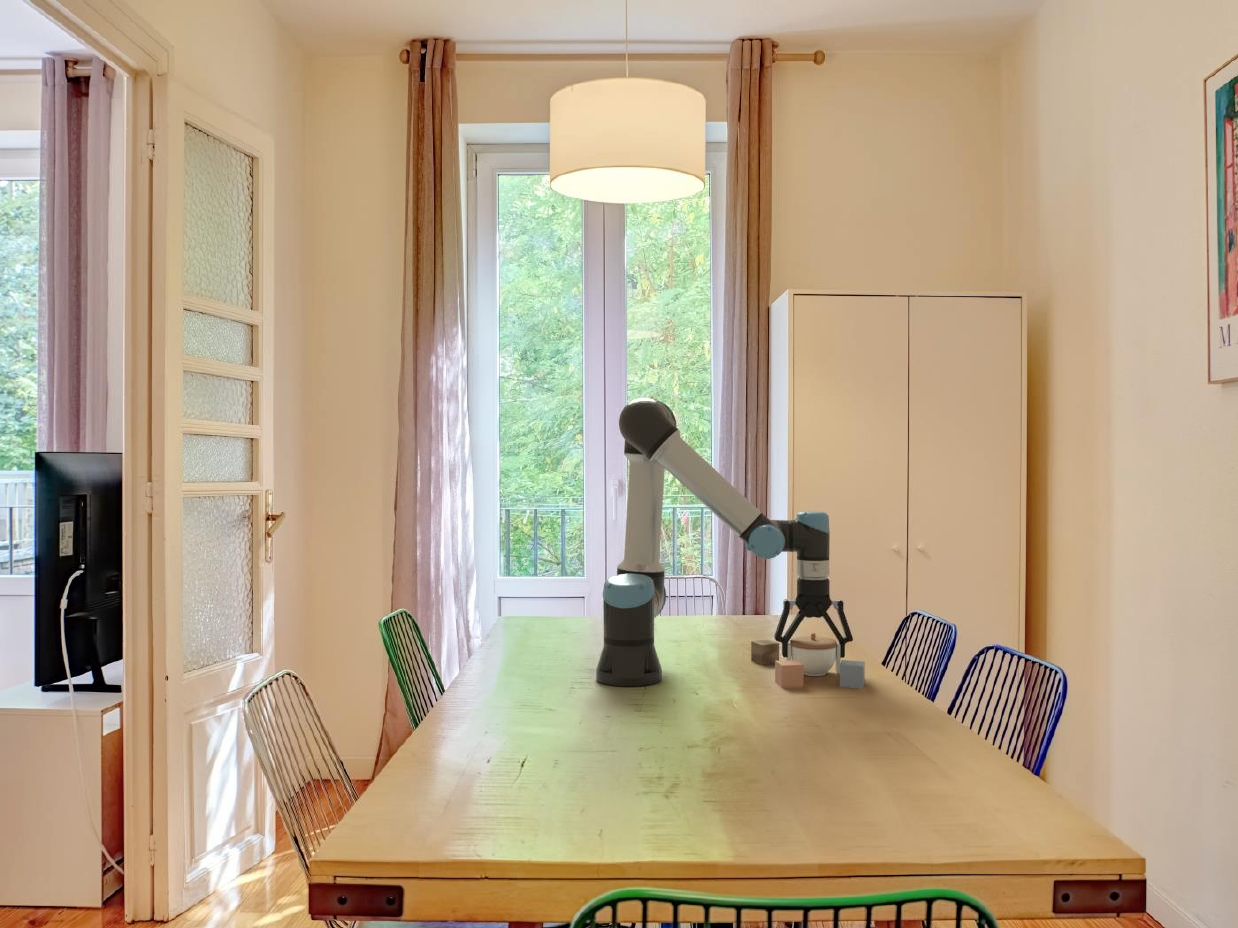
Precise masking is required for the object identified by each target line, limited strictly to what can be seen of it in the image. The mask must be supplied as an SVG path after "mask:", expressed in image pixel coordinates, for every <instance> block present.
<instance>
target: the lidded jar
mask: <svg viewBox="0 0 1238 928" xmlns="http://www.w3.org/2000/svg"><path fill="white" fill-rule="evenodd" d="M789 642H790V644H791V660H797V661H799V662H800V663H802V664H803V676H809V677H822V676H823V677H824V676H826V675H827V673H828V672H829V671H830V670H831V669H832V668H833V666H834V665H835V657H836V646H837V643H838V642H837V640H836V639H833V638H830V637H825V636H817V635H816V633H814V632H812V633H810V635H804V636H803V635H802V636H796V637H791V639H790V640H789Z"/></svg>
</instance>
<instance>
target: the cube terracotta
mask: <svg viewBox="0 0 1238 928" xmlns="http://www.w3.org/2000/svg"><path fill="white" fill-rule="evenodd" d="M774 683H775V684H776V685H778V686H779V687H780V688H786V689H787V688H804V675H803V664H802V663H800V662H799V661H797V660H792V659H791V660H787V659H786V660H784V659H783V660H779V661H775V664H774Z"/></svg>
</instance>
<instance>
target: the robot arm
mask: <svg viewBox="0 0 1238 928" xmlns="http://www.w3.org/2000/svg"><path fill="white" fill-rule="evenodd" d="M618 429H619V431H620V433H621V437H623V439H624V448H623V450H624V451H623V455H624V456H625V457H626V458H627V459H628V461H629V469H628V470H629V472H628V485H627V487H628V488H627V500H626V501H627V503H626V504H627V505H626V519H625V520H626V521H625V523H626V524H625V535H624V536H625V538H624V552H623V553H624V556H623V560H622V561H621V562H619V564H617V566H616V567H617V568H616V569H617V570H616V575H612V576H610V577H608V578H607V579H606V580H605V581H604V583H603V590H602V598H603V599H602V601H603V607H602V608H603V647H602V650H601V653H600V655H599V656H600V657H599V660H598V663H597V667H596V670H595V672H596V673H595V674H596V675H595V679H596V681H597V682H599V683H601V684H604V685H609V686H615V687H617V686H618V687H641V686H642V687H643V686H650V685H653V684H657V683H660V682H661V681H662V680H663V669H662V668H663V667H662V666H661V662H660V660H659V656H658V652H657V650H656V647H655V618H657V616H659V615H660V614H661V612H662V611H663V609H664V606H665V605H666V602H667V591H666V590H667V589H666V588H665V577H666V576H665V573H666V572H665V571H666V569H665V567H664V565H662V564H661V562H660V556H661V555H660V553H661V536H662V520H663V519H662V518H663V506H664V505H663V503H664V487H665V486H664V485H665V470H666V471H668V472H669V473H670V474H671V475H672V476H673V477H674V478H675V479H676V480H677V481H678V482H680V483H681V485H682V486H683V487H685V488H686V489H687V490H688V491H689V492H690V493H691V494H692V495H694V496H695V497H696V498H697V500H699V502H701V503H702V504H703V505H704V506H705V507H706V508H708V509H709V510H710V511H711V512H712V513H713V514H714V515H715V516H716V517H717V518H718V519H719V520H720V521H721V522H722V523H724V524H725V525H726V526H727V528H729V529H730V530H731V531H732V532H733V533H734V534H735V535H736V536H738V537H739V539H741V541H743V543H745V544H744V545H745V549H746V550H747V551H749V552H751V553H753V554H754V555H755V557H757V558H759V559H762V560H770V559H774V558H777V556H779V555H781V554H782V553H786V552H787V553H789V552H790V553H794V552H795V553H796V576H798V578H797V579H796V598H795V599H788V598H786V599H783V603H782V604H783V605H782V606H783V609H782V612H781V615H780V618H779V621H778V624H777V627H776V629H775V633H774V635H773V638H774V640H775V642H777V643H781V656H782V657H783V658H786V660H792V657H791V644H790V640H791V639H792V638H793V635H794V634H795V632H796V631H797V630H798V627H799V626H800V625H801V623H802V621H803V620H804V619H805V618H807V619H812V618H818V619H820V618H823V619H824V621H825V622H826V624H827V625H828V627H829V628H830V630H831V631H832V633H833V635H834V636H835V638H836V639H837V641H838V642H837V646H836V657H835V662H834V671H835V672H836V673H837V674H840V663H841V658H842V659H843V658H845V656H846V644H847V643H849V642H853V641H854V637H853V634H852V631H851V628H850V626H849V623H848V620H847V616H846V614H845V611H844V607H845V605H844V603H845V602H844V601H843V600H842V599H840V598H839V599H836V600H835V599H831V594H830V588H831V587H830V582H831V581H830V579H829V578H828V577H830V539H831V538H830V537H831V536H830V534H831V532H830V518H829V517H830V516H829V515H828V513H826V512H823V511H818V510H817V511H816V510H815V511H813V510H812V511H804V510H803V511H799V512H797V514H796V517H795V518H796V519H790V520H786V519H769V518H768V517H767V516H766V515H765V514H764V513H763V512H761V510H759V509H758V508H757V507H756V506H755V505H754V504H753V503H752V502H751V501H750V500H749V499H748V498H747V497H745V495H743V494H742V493H741V492H740V491H739V490H738V489H737V488H736V487H734V485H732V483H731V482H729V481H728V480H727V479H726V478H725V477H724V476H723V475H722V474H720V473H719V472H718V471H717V470H716V469H715V467H713V466H712V465H711V464H710V463H708V462H707V461H706V459H705V458H703V457H702V456H701V454H699V453H698V452H697V451H696V450H695V449H694V448H693V447H692V446H690V445H689V443H687V442H686V441H685V440H684V439H683V438H682V437H681V430H680V429H679V428H678V427H677V420H676V417H675V415H674V412H673V411H672V410H671V408H670V407H669V406H668V405H667V404H666V403H664V402H662V401H660V400H655V399H651V398H646V397H642V398H641V397H640V398H637V399H633V400H631V401H629V402H628V403H627V404H626V405H625V406H624V407H623V409H622V410H621V412H620V415H619V418H618ZM794 606H796V607H797V609H798V610H799V611H798V612H797V613H796V615H795V617H794V619H793V620H792V622H791V624H790V626H789V627H788V628H787V630H786V631H785V633H784V630H785V627H786V624H787V621H788V618H789V615H790V610H792V609H793V608H794ZM831 606H832V607H833V608H834V610H836V614H837V615H838V619H839V622H840V624H841V627H842V630H843V633H844V635H845V636H842V634H841V633H840V631H839V629H838V627H837V626H836V624H835V622H834V621H833V620H832V618H831V617H830V615H829V613H828V610H829V609H830V608H831ZM783 633H784V635H783ZM782 635H783V636H782Z"/></svg>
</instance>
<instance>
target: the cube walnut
mask: <svg viewBox="0 0 1238 928" xmlns="http://www.w3.org/2000/svg"><path fill="white" fill-rule="evenodd" d="M750 642H751V643H750V646H751V647H750V651H751V653H750V654H751V655H750V657H751V659H750V660H751V662H753V663H756V664H759V666H760V665H761V666H763V665H775V661H780V642H778V641H774V640H771V639H762V640H761V639H760V640H751V641H750Z"/></svg>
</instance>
